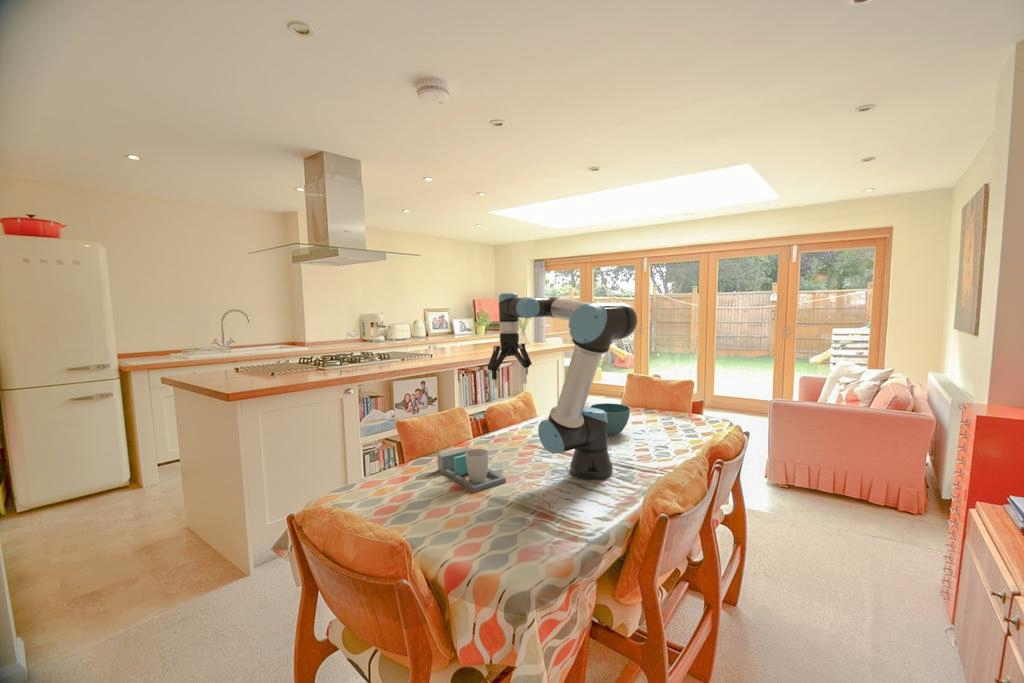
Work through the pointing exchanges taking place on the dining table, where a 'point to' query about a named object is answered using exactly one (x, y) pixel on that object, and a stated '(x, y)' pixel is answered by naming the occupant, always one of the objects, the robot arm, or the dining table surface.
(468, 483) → the tray
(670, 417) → the dining table surface
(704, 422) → the dining table surface
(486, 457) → the cup
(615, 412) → the teal bowl
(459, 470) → the block
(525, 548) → the dining table surface
